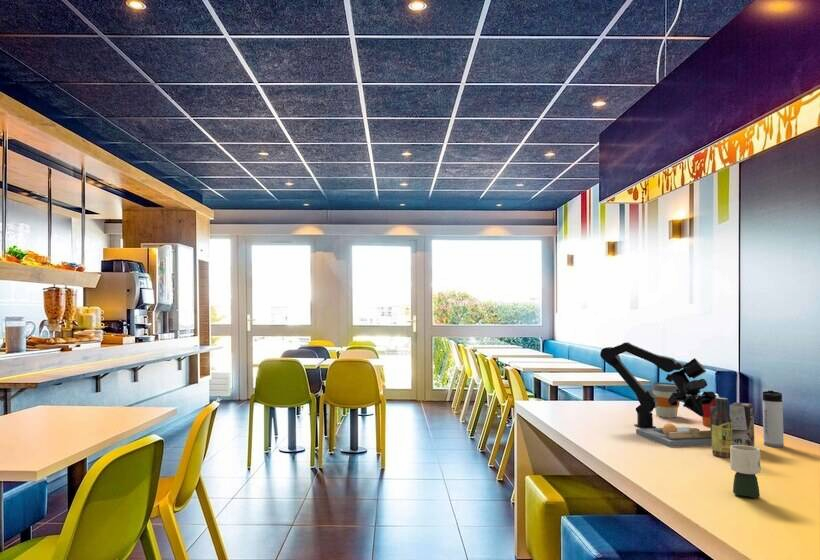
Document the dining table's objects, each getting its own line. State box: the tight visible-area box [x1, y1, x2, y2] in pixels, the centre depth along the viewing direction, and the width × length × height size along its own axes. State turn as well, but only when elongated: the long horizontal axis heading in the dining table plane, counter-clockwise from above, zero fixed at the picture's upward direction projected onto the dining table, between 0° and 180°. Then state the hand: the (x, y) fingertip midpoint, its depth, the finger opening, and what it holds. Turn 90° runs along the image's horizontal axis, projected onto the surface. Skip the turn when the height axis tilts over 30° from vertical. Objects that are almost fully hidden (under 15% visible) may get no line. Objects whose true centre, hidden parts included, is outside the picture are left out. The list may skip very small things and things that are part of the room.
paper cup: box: [699, 392, 720, 428], centre depth 243 cm, size 8×8×14 cm
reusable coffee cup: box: [651, 382, 681, 418], centre depth 264 cm, size 13×13×15 cm
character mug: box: [729, 445, 762, 499], centre depth 151 cm, size 11×7×13 cm, turn 167°
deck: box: [635, 426, 712, 447], centre depth 217 cm, size 22×24×2 cm
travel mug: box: [762, 390, 785, 448], centre depth 208 cm, size 6×7×20 cm
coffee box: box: [728, 401, 756, 447], centre depth 203 cm, size 9×6×16 cm
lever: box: [667, 406, 716, 439], centre depth 210 cm, size 4×21×11 cm, turn 100°
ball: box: [662, 423, 677, 436], centre depth 212 cm, size 5×5×5 cm
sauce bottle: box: [711, 397, 732, 458], centre depth 193 cm, size 7×6×20 cm
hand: (702, 416), depth 219 cm, fingers closed
